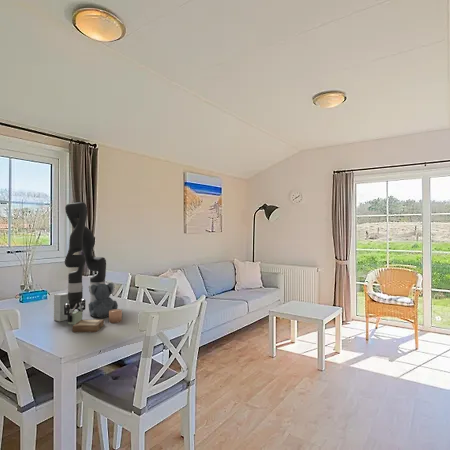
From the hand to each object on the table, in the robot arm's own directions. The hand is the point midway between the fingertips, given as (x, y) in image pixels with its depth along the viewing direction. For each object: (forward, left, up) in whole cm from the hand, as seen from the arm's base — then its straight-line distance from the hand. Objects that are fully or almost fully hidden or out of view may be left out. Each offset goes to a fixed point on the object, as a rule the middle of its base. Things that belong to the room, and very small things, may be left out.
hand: (75, 320), depth 189 cm
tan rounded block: (-10, +19, -2) cm, 22 cm away
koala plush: (-20, +3, -2) cm, 20 cm away
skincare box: (-4, -12, -2) cm, 13 cm away
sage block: (0, 0, -2) cm, 2 cm away
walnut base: (+6, +14, -1) cm, 15 cm away
